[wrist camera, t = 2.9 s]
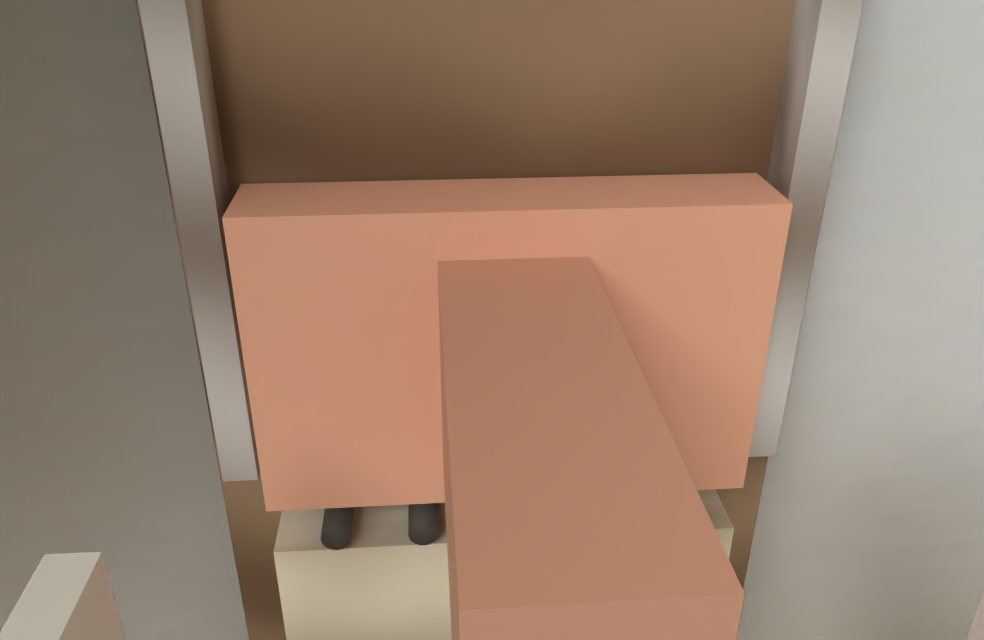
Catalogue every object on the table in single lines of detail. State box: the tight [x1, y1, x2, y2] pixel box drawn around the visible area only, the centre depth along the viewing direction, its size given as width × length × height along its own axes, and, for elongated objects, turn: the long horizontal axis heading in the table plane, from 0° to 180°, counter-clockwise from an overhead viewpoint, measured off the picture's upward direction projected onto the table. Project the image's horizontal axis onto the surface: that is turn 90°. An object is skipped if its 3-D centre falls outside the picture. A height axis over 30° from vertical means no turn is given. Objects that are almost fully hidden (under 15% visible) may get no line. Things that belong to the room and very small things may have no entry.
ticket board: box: [136, 0, 864, 640], centre depth 21 cm, size 24×14×4 cm, turn 0°
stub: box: [222, 173, 793, 640], centre depth 15 cm, size 7×11×11 cm, turn 90°
